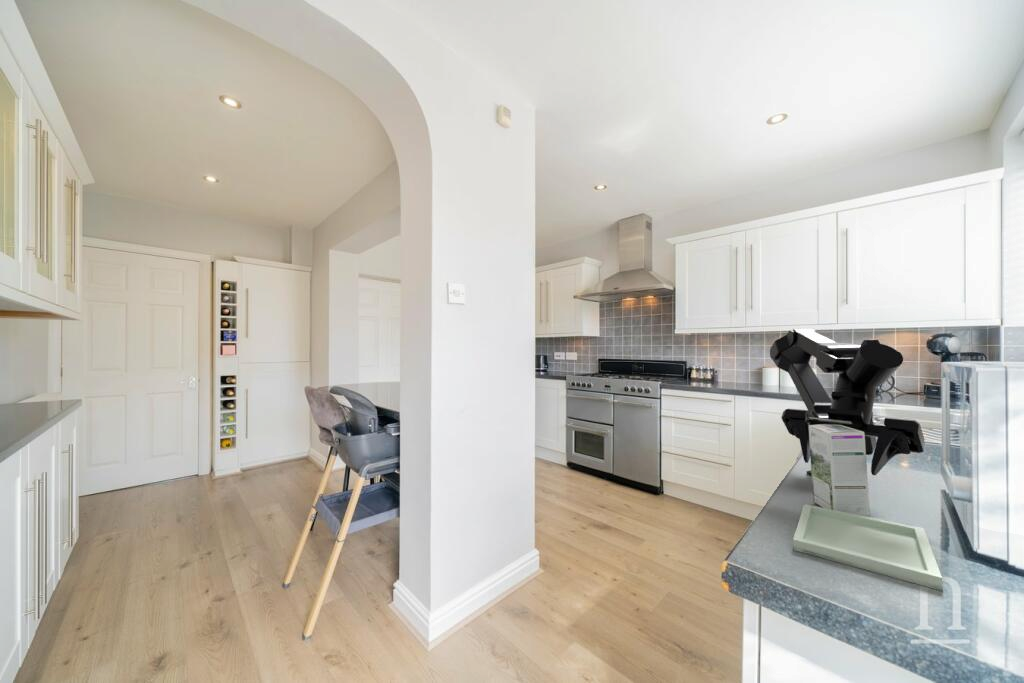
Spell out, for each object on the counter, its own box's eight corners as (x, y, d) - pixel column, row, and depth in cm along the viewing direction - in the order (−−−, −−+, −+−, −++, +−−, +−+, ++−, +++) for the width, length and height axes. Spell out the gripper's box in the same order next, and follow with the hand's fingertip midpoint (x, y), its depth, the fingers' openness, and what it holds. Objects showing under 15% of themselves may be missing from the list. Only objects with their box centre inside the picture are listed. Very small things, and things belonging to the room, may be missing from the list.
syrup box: (872, 517, 62) (867, 431, 62) (832, 516, 63) (828, 431, 63) (846, 503, 68) (842, 423, 68) (810, 502, 69) (806, 423, 69)
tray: (804, 512, 65) (804, 503, 65) (924, 538, 55) (923, 528, 55) (793, 549, 53) (793, 539, 53) (943, 591, 43) (942, 577, 43)
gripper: (933, 431, 66) (925, 510, 60) (806, 418, 82) (788, 479, 75) (922, 390, 62) (912, 470, 56) (790, 384, 78) (770, 446, 71)
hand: (837, 467), depth 64 cm, fingers open, 9 cm apart
